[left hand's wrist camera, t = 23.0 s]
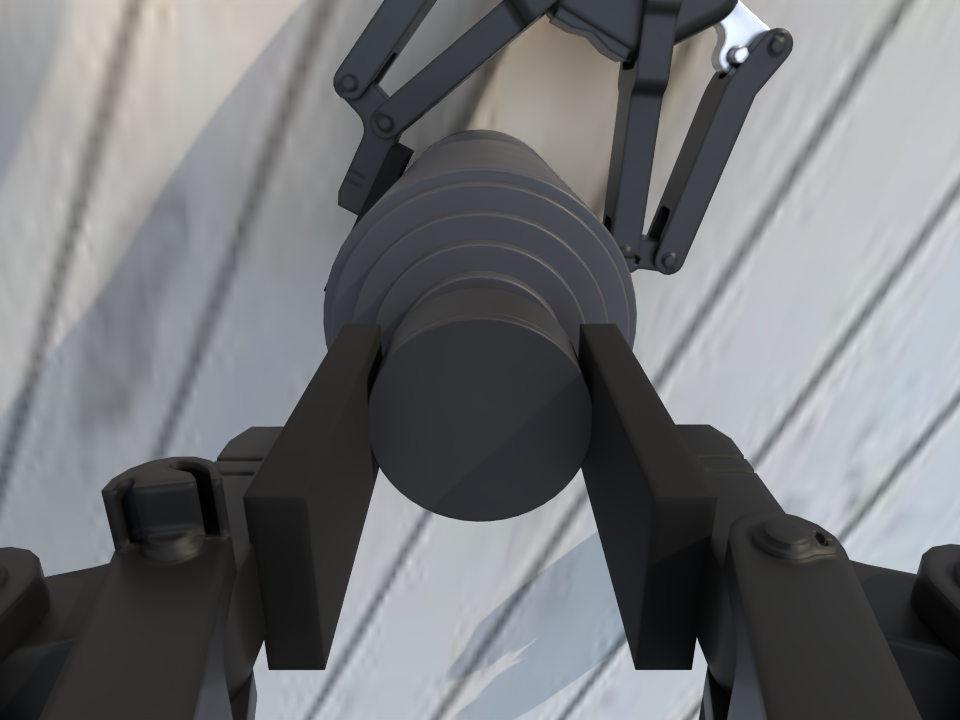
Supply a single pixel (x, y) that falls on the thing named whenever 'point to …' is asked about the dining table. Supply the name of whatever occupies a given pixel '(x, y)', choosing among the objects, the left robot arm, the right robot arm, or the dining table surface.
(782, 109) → the dining table surface
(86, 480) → the dining table surface
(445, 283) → the bottle
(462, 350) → the cap
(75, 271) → the dining table surface
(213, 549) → the left robot arm
